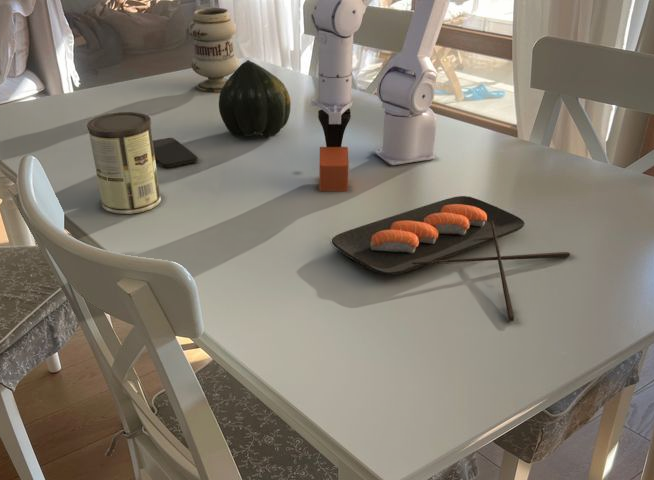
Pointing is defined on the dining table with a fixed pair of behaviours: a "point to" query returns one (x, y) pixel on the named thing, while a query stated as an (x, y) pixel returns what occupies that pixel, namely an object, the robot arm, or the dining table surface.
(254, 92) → the squash
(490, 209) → the sushi plate
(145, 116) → the coffee can
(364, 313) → the dining table surface
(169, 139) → the phone
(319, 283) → the dining table surface
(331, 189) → the orange open-ended box
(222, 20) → the apothecary jar
